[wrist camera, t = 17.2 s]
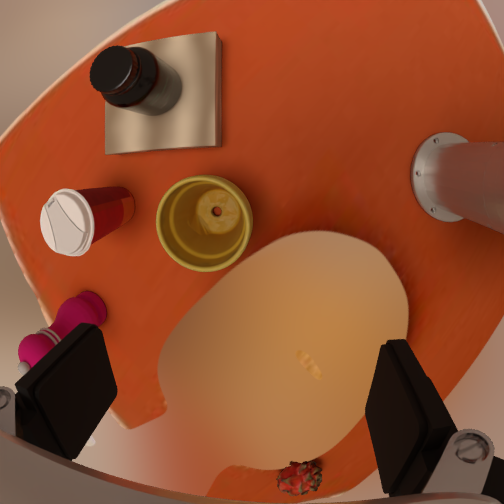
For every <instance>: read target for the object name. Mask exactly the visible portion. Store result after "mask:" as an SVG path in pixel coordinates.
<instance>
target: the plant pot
mask: <svg viewBox="0 0 504 504" xmlns="http://www.w3.org/2000/svg"><path fill="white" fill-rule="evenodd" d="M214 207H219V208H220V209H221V211H222V213H221V215H220V216H216V215H214V214H213V208H214ZM252 227H253V215H252V210H251V207H250V204H249V202H248V200H247V198H246V196H245V195H244V193H243V192H242V191H241V190H240V189H239V188H238V187H237V186H236V185H235V184H233V183H232V182H230V181H229V180H227V179H224V178H222V177H219V176H214V175H197V176H192V177H188V178H185V179H183V180H181V181H179V182H177V183H176V184H174V185H173V186H172V187H171V188H170V189H169V190H168V191H167V192H166V193H165V194H164V196H163V198H162V199H161V201H160V203H159V206H158V210H157V214H156V229H157V234H158V237H159V240H160V242H161V244H162V246H163V248H164V249H165V251H166V252H167V253H168V255H169V256H170V257H171V258H172V259H173V260H175V261H176V262H177V263H179V264H180V265H182V266H184V267H186V268H188V269H191V270H194V271H199V272H212V271H217V270H220V269H223V268H225V267H227V266H229V265H231V264H232V263H233V262H235V261H236V260H237V259H238V258H239V257H240V256H241V254H242V253H243V251H244V250H245V248H246V246H247V244H248V242H249V239H250V236H251V233H252Z"/></svg>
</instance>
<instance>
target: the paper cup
mask: <svg viewBox="0 0 504 504" xmlns="http://www.w3.org/2000/svg"><path fill="white" fill-rule="evenodd" d="M134 210H135V202H134V198H133V196H132V195H131V193H130V192H129V191H128V190H127V189H125V188H123V187H103V188H91V189H83V190H72V189H61V190H59V191H57V192H55V193H54V194H53V195H52V196H51V197H50V199H49V200H48V202H47V203H46V204H44V206H43V209H42V212H41V218H40V224H41V231H42V234H43V237H44V239H45V241H46V243H47V244H48V245H49V247H50V248H51V249H52V250H54V251H55V252H57V253H60V254H65V255H68V256H80V255H82V254H84V253H85V252H86V251H87V250H88V249H89V247H90V245H91V244H93V243H94V242H96V241H97V240H99V239H101V238H102V237H104V236H106V235H107V234H109V233H110V232H112V231H114V230H115V229H117V228H119V227H120V226H122V225H123V224H125V223H126V222H128V221H129V220H130V219H131V218H132V216H133V214H134Z"/></svg>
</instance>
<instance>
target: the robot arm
mask: <svg viewBox="0 0 504 504" xmlns="http://www.w3.org/2000/svg"><path fill="white" fill-rule="evenodd" d="M433 140H435V142H434V141H433ZM416 172H417V175H416V174H415V173H416ZM411 185H412V189H413V193H414V195H415V197H416V200H417V201H418V203H419V204H420V206H421V207H422V208H423V210H424V211H425V212H426V213H428V214H429V215H430V216H432V217H434V218H436V219H438V220H441V221H444V222H455V221H459V220H462V219H464V218H466V219H468V220H471V221H473V222H476V223H478V224H481V225H483V226H486V227H488V228H490V229H493V230H495V231H497V232H500V233H502V234H504V142H469V141H467V140H466V139H465V138H463V137H462V136H460V135H458V134H454V133H448V132H443V133H437V134H434V135H432V136H430V137H428V138H427V139H425V140H424V141H423V142H422V143H421V144H420V146H419V147H418V149H417V150H416V153H415V155H414V157H413V161H412V165H411ZM431 208H432V210H431ZM15 386H16V389H17V391H18V392H17V393H16V394H15V393H14V392H13V390H11V389H10V388H8V387H4V386H3V387H0V504H286V503H260V502H246V501H236V500H226V499H218V498H211V497H204V496H197V495H191V494H185V493H180V492H174V491H170V490H165V489H161V488H157V487H152V486H148V485H144V484H140V483H136V482H133V481H129V480H126V479H122V478H119V477H115V476H112V475H109V474H106V473H103V472H100V471H97V470H94V469H91V468H88V467H85V466H83V465H80V464H77V463H75V462H72V459H76V458H77V457H78V455H79V454H80V452H81V450H82V449H83V447H84V446H85V444H86V442H87V441H88V439H89V438H90V436H91V435H92V433H93V432H94V430H95V428H96V427H97V425H98V424H99V422H100V421H101V419H102V418H103V416H104V415H105V413H106V411H107V410H108V408H109V407H110V405H111V404H112V402H113V401H114V399H115V398H116V396H117V385H116V382H115V379H114V375H113V372H112V368H111V365H110V361H109V357H108V353H107V350H106V346H105V342H104V337H103V333H102V331H101V330H100V329H99V328H98V326H97V325H96V324H90V323H84V322H81V323H80V324H79V325H77V326H76V327H75V328H74V329H73V330H72V331H71V332H70V333H69V334H67V335H66V336H65V337H64V338H63V339H62V340H61V341H60V342H59V343H58V344H56V345H55V346H54V347H53V348H52V349H51V350H50V351H49V352H48V353H47V354H46V355H45V356H44V357H42V358H41V359H40V360H39V361H38V362H37V363H36V364H35V365H34V366H33V367H32V368H31V369H30V370H29V371H28V372H27V373H26V374H25V375H24V376H23V377H22V378H21V379H19V381H17V382H16V383H15ZM365 415H366V420H367V423H368V427H369V431H370V436H371V440H372V444H373V448H374V452H375V457H376V461H377V465H378V470H379V474H380V479H381V484H382V489H383V492H384V493H385V494H386V493H389V497H388V498H381V499H372V500H362V501H352V502H337V503H336V502H335V503H309V504H504V460H503V459H500V458H498V457H495V456H494V445H493V442H492V441H491V439H490V438H489V437H488V436H487V435H486V434H485V433H483V432H481V431H478V430H474V429H463V430H460V431H458V430H457V428H456V426H455V424H454V422H453V420H452V418H451V417H450V414H449V412H448V410H447V409H446V407H445V405H444V403H443V401H442V399H441V397H440V396H439V394H438V392H437V390H436V388H435V386H434V385H433V383H432V381H431V379H430V378H429V377H427V376H426V374H425V372H424V371H423V369H422V367H421V365H420V364H419V362H418V360H417V358H416V357H415V355H414V353H413V351H412V350H411V348H410V346H409V345H408V343H407V341H406V340H405V339H397V340H388V341H387V343H386V344H384V345H381V348H380V352H379V356H378V360H377V365H376V369H375V373H374V377H373V381H372V385H371V389H370V392H369V396H368V400H367V403H366V407H365Z"/></svg>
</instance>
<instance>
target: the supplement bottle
mask: <svg viewBox="0 0 504 504" xmlns="http://www.w3.org/2000/svg"><path fill="white" fill-rule="evenodd" d="M90 81H91V84H92V85H93V87H94V88H95V89H96V90H97V91H100V92H101V94H102V96H103V98H104V99H105V100H106V101H107V102H108V103H109V104H110V105H112V106H114V107H117V108H121V109H125V110H128V111H132V112H136V113H140V114H143V115H148V116H157V115H161V114H164V113H166V112H167V111H169V110H170V109H171V108H173V106H174V105H175V104H176V103H177V101H178V100H179V98H180V95H181V91H182V82H181V78H180V76H179V74H178V73H177V72H176V71H175V70H174V69H173V68H172V67H171V66H170V65H168V64H167V63H166V62H164V61H163V60H162V59H160V58H159V57H158V56H156V55H155V54H154V53H152V52H151V51H149V50H147V49H145V48H142V47H128V48H126V47H123V46H118V45H117V46H112V47H109V48H107V49H105V50H104V51H102V52H101V53H100V54H99V55H98V56H97V58H95V60H94V62H93V63H92V66H91V70H90Z"/></svg>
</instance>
